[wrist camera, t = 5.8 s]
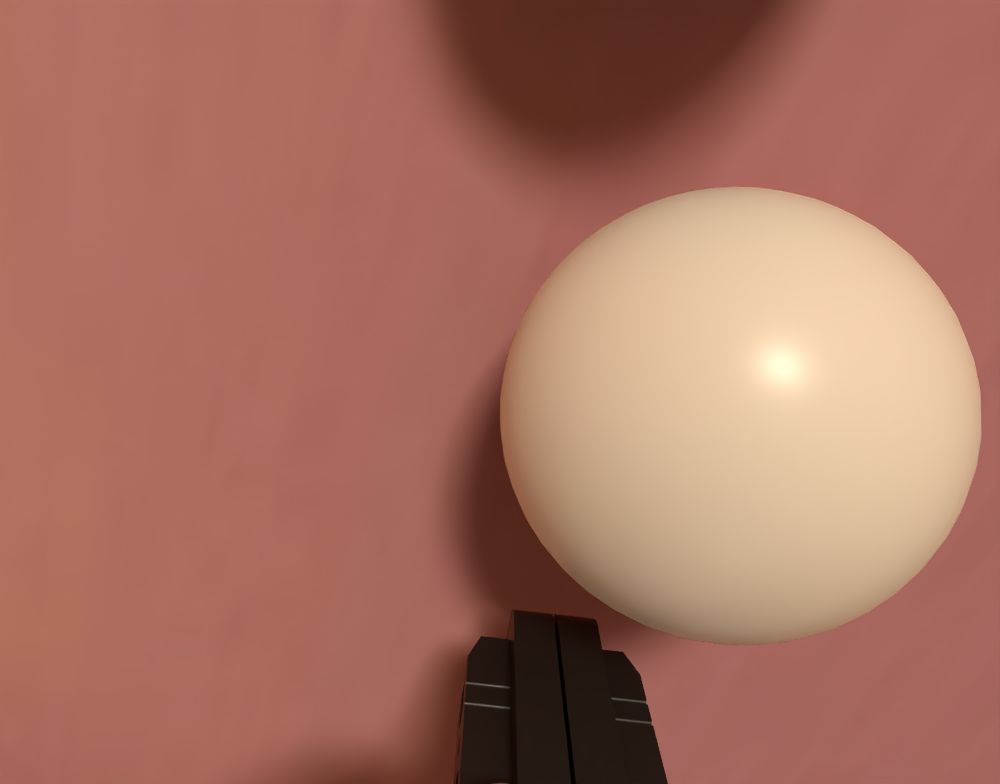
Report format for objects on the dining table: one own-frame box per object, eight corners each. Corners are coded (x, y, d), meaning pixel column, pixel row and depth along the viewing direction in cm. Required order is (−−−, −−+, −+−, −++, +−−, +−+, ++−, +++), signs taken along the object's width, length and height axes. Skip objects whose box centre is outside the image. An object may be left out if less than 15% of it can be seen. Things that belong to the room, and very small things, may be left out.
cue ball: (1171, 573, 5) (960, 18, 8) (388, 583, 7) (454, 142, 10) (979, 683, 10) (895, 322, 12) (560, 669, 12) (569, 362, 14)
